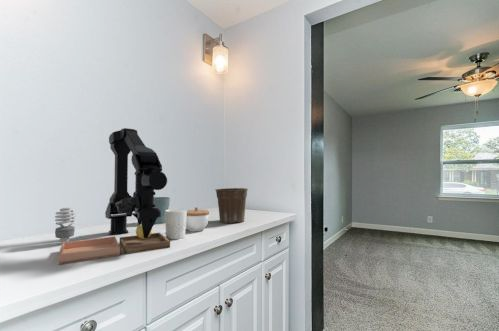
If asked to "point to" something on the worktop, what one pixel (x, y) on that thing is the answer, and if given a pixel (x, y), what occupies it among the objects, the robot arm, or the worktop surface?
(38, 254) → the worktop surface
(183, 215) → the white cup
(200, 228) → the lidded jar
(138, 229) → the ball
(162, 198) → the teal cup
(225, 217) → the plant pot
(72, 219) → the light bulb
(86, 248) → the dish
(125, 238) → the tray
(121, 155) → the robot arm
